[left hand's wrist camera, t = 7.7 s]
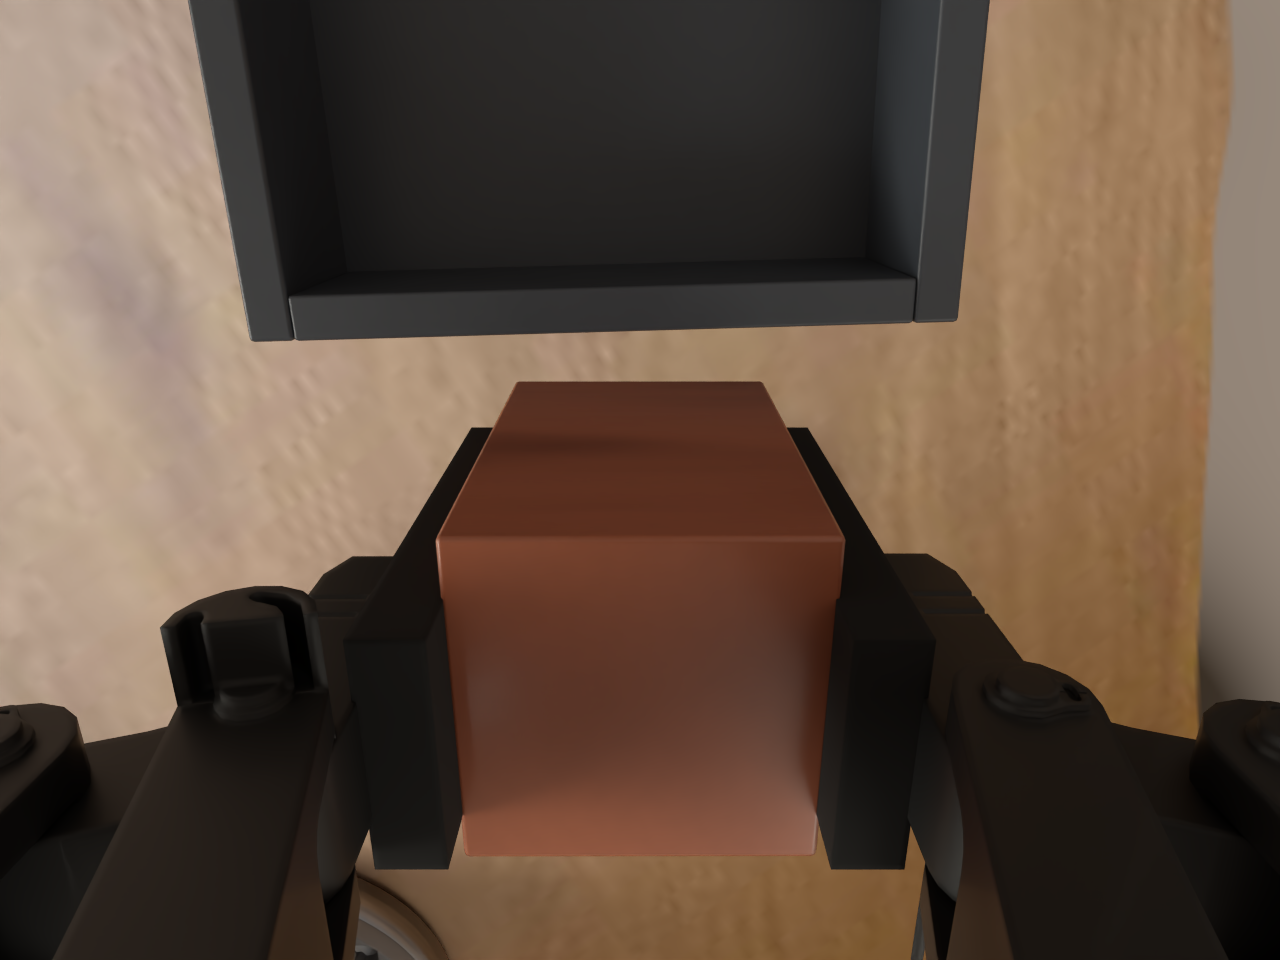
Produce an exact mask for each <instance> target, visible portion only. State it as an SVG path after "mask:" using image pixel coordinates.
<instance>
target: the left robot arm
mask: <svg viewBox="0 0 1280 960" xmlns="http://www.w3.org/2000/svg"><path fill="white" fill-rule="evenodd" d="M492 429H493V428H471V430H470V431H469V433H468V434H467V436H466V438H465V439H464V441H463V443H462V444H461V446H460V448H459V449H458V451H457V453H456V454H455V456H454V458H453V459H452V461H451V462H450V464H449V466H448V467H447V469H446V471H445V472H444V474H443V476H442V477H441V479H440V481H439V482H438V484H437V486H436V487H435V489H434V490H433V492H432V494H431V495H430V497H429V499H428V500H427V502H426V504H425V505H424V507H423V509H422V510H421V512H420V514H419V515H418V517H417V518H416V520H415V522H414V523H413V525H412V527H411V528H410V530H409V532H408V533H407V535H406V537H405V538H404V540H403V542H402V543H401V545H400V546H399V548H398V550H397V551H396V553H395V555H394V556H353V557H351V558H349V559H348V560H346V561H344V562H343V563H341V564H340V565H338V566H336V567H335V568H333V569H331V570H330V571H328V572H327V573H325V574H323V576H322V577H321V578H320V580H319V581H318V582H317V584H316V585H315V587H314V588H313V589H312V591H311V592H310V593H309V595H308V594H306V593H305V592H304V591H301V590H296V589H292V588H288V587H283V586H253V587H247V588H242V589H236V590H230V591H225V592H222V593H219V594H216V595H213V596H210V597H207V598H204V599H201V600H198V601H196V602H194V603H192V604H190V605H188V606H187V607H185V608H183V609H181V610H179V611H177V612H176V613H174V614H173V615H172V616H171V617H170V618H169V619H168V620H167V621H166V622H165V623H164V624H163V625H162V626H161V627H160V630H161V634H162V639H163V643H164V648H165V652H166V657H167V661H168V665H169V670H170V674H171V679H172V683H173V688H174V692H175V697H176V701H177V705H178V707H177V709H176V711H175V713H174V715H173V717H172V719H171V721H170V723H169V725H168V727H164V728H160V729H156V730H152V731H148V732H143V733H138V734H132V735H127V736H122V737H117V738H111V739H106V740H101V741H96V742H91V743H85V744H84V742H83V738H82V735H81V731H80V727H79V724H78V720H77V717H76V716H75V715H73V714H72V713H71V712H70V711H68V710H67V709H66V708H65V707H61V706H55V705H49V704H43V703H37V704H26V705H9V706H3V707H0V960H449V959H448V957H447V955H446V953H445V951H444V949H443V947H442V946H441V944H440V943H439V941H438V939H437V938H436V936H435V935H434V934H433V933H432V931H431V930H430V929H429V928H428V926H427V925H426V924H425V923H424V922H423V921H422V920H421V919H420V918H419V917H418V916H417V915H416V914H415V913H414V912H413V911H411V910H410V909H409V908H408V907H407V906H406V905H404V904H403V903H402V902H400V901H399V900H397V899H396V898H395V897H393V896H392V895H390V894H388V893H387V892H385V891H384V890H382V889H380V888H379V887H377V886H375V885H373V884H371V883H369V882H367V881H365V880H362V879H360V878H357V874H356V868H355V863H356V860H357V858H358V855H359V853H360V850H361V848H362V845H363V843H364V840H365V838H366V835H367V833H368V830H369V831H370V838H371V845H372V852H373V859H374V866H375V869H448V868H449V865H450V861H451V857H452V853H453V850H454V846H455V842H456V838H457V835H458V831H459V827H460V823H461V820H462V816H463V811H462V801H461V790H460V779H459V768H458V758H457V747H456V736H455V725H454V714H453V704H452V693H451V682H450V671H449V661H448V650H447V639H446V628H445V617H444V607H443V599H442V598H441V594H440V583H439V572H438V562H437V551H436V538H437V536H438V534H439V532H440V530H441V528H442V526H443V524H444V522H445V520H446V518H447V516H448V514H449V512H450V511H451V509H452V507H453V505H454V503H455V501H456V499H457V497H458V495H459V493H460V491H461V489H462V487H463V485H464V483H465V481H466V479H467V478H468V476H469V474H470V472H471V470H472V468H473V466H474V464H475V462H476V460H477V458H478V456H479V454H480V452H481V450H482V448H483V446H484V445H485V443H486V441H487V439H488V437H489V435H490V433H491V431H492ZM787 430H788V431H789V433H790V435H791V437H792V439H793V441H794V443H795V445H796V447H797V448H798V450H799V452H800V454H801V456H802V458H803V460H804V462H805V464H806V465H807V467H808V469H809V471H810V473H811V475H812V477H813V479H814V481H815V482H816V484H817V486H818V488H819V490H820V492H821V494H822V496H823V498H824V499H825V501H826V503H827V505H828V507H829V509H830V511H831V513H832V515H833V516H834V518H835V520H836V522H837V524H838V526H839V528H840V530H841V532H842V533H843V535H844V538H845V551H844V562H843V572H842V583H841V593H840V598H839V599H836V608H835V619H834V630H833V641H832V652H831V663H830V673H829V684H828V695H827V706H826V717H825V727H824V738H823V749H822V760H821V771H820V782H819V792H818V803H817V814H816V815H817V819H818V822H819V826H820V830H821V834H822V837H823V841H824V845H825V849H826V852H827V856H828V860H829V864H830V867H831V869H905V861H906V854H907V847H908V840H909V833H910V826H911V828H912V830H913V833H914V835H915V838H916V840H917V843H918V845H919V848H920V850H921V852H922V855H923V857H924V860H925V868H924V874H923V881H922V888H921V894H920V901H919V908H918V914H917V921H916V927H915V934H914V941H913V948H912V955H911V960H923V955H924V950H925V951H926V959H927V960H1280V703H1278V702H1272V701H1256V700H1244V699H1237V700H1231V701H1225V702H1219V703H1216V704H1214V705H1213V706H1212V707H1211V708H1209V709H1208V710H1207V711H1206V712H1204V713H1203V717H1202V720H1201V724H1200V728H1199V731H1198V735H1197V739H1196V740H1194V739H1189V738H1184V737H1178V736H1173V735H1168V734H1163V733H1157V732H1152V731H1147V730H1141V729H1136V728H1131V727H1127V726H1123V725H1119V724H1115V723H1111V722H1110V719H1109V717H1108V715H1107V713H1106V711H1105V709H1104V707H1103V705H1102V704H1101V703H1100V702H1099V701H1098V699H1097V698H1096V697H1095V696H1094V695H1093V693H1092V692H1091V691H1090V690H1089V689H1088V688H1087V687H1085V686H1083V685H1082V684H1080V683H1079V682H1077V681H1076V680H1074V679H1073V678H1071V677H1070V676H1068V675H1066V674H1064V673H1061V672H1059V671H1056V670H1053V669H1051V668H1048V667H1046V666H1043V665H1041V664H1036V663H1031V662H1026V661H1023V660H1022V658H1021V657H1020V656H1019V654H1018V653H1017V652H1016V650H1015V649H1014V648H1013V646H1012V645H1011V644H1010V642H1009V641H1008V640H1007V638H1006V637H1005V636H1004V634H1003V633H1002V632H1001V630H1000V629H999V628H998V626H997V625H996V624H995V622H994V621H993V620H992V618H991V617H990V616H989V615H988V614H985V609H984V608H983V607H982V605H981V604H980V603H979V601H978V600H977V599H976V597H975V596H972V592H971V591H970V589H969V588H968V587H967V585H966V584H965V583H964V581H963V580H962V579H961V577H960V576H959V575H958V573H957V572H956V571H955V570H953V569H951V568H950V567H948V566H946V565H945V564H943V563H941V562H940V561H938V560H937V559H935V558H933V557H932V556H930V555H928V554H884V553H883V551H882V549H881V548H880V546H879V545H878V543H877V541H876V540H875V538H874V536H873V535H872V533H871V531H870V530H869V528H868V526H867V525H866V523H865V521H864V520H863V518H862V517H861V515H860V513H859V512H858V510H857V508H856V507H855V505H854V503H853V502H852V500H851V498H850V497H849V495H848V493H847V492H846V490H845V489H844V487H843V485H842V484H841V482H840V480H839V479H838V477H837V475H836V474H835V472H834V470H833V469H832V467H831V465H830V464H829V462H828V461H827V459H826V457H825V456H824V454H823V452H822V451H821V449H820V447H819V446H818V444H817V442H816V441H815V439H814V438H813V436H812V434H811V433H810V431H809V429H808V428H787Z"/></svg>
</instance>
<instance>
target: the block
mask: <svg viewBox="0 0 1280 960" xmlns="http://www.w3.org/2000/svg"><path fill="white" fill-rule="evenodd" d="M436 551H437V562H438V572H439V583H440V594H441V598H442V599H443V607H444V617H445V628H446V639H447V650H448V661H449V671H450V682H451V693H452V704H453V714H454V725H455V736H456V747H457V758H458V768H459V779H460V790H461V801H462V811H463V816H462V830H463V840H464V850H465V853H466V855H468V856H811V855H814V854H815V852H816V848H817V837H818V826H819V822H818V819H817V815H816V814H817V803H818V792H819V782H820V771H821V760H822V749H823V738H824V727H825V717H826V706H827V695H828V684H829V673H830V663H831V652H832V641H833V630H834V619H835V608H836V599H839V598H840V593H841V583H842V572H843V562H844V551H845V538H844V535H843V533H842V532H841V530H840V528H839V526H838V524H837V522H836V520H835V518H834V516H833V515H832V513H831V511H830V509H829V507H828V505H827V503H826V501H825V499H824V498H823V496H822V494H821V492H820V490H819V488H818V486H817V484H816V482H815V481H814V479H813V477H812V475H811V473H810V471H809V469H808V467H807V465H806V464H805V462H804V460H803V458H802V456H801V454H800V452H799V450H798V448H797V447H796V445H795V443H794V441H793V439H792V437H791V435H790V433H789V431H788V430H787V428H786V426H785V424H784V422H783V420H782V418H781V416H780V414H779V413H778V411H777V409H776V407H775V405H774V403H773V401H772V399H771V397H770V396H769V394H768V392H767V390H766V388H765V386H764V384H763V383H762V382H517V383H516V384H515V386H514V388H513V390H512V392H511V394H510V396H509V398H508V400H507V402H506V404H505V406H504V408H503V410H502V412H501V414H500V415H499V417H498V419H497V421H496V423H495V425H494V427H493V429H492V431H491V433H490V435H489V437H488V439H487V441H486V443H485V445H484V446H483V448H482V450H481V452H480V454H479V456H478V458H477V460H476V462H475V464H474V466H473V468H472V470H471V472H470V474H469V476H468V478H467V479H466V481H465V483H464V485H463V487H462V489H461V491H460V493H459V495H458V497H457V499H456V501H455V503H454V505H453V507H452V509H451V511H450V512H449V514H448V516H447V518H446V520H445V522H444V524H443V526H442V528H441V530H440V532H439V534H438V536H437V538H436Z"/></svg>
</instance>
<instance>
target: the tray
mask: <svg viewBox="0 0 1280 960" xmlns="http://www.w3.org/2000/svg"><path fill="white" fill-rule="evenodd" d="M989 2H990V0H188V3H189V9H190V14H191V20H192V25H193V31H194V36H195V42H196V47H197V52H198V58H199V63H200V69H201V74H202V80H203V85H204V91H205V96H206V102H207V107H208V112H209V118H210V123H211V129H212V134H213V140H214V145H215V151H216V156H217V162H218V167H219V172H220V178H221V183H222V189H223V194H224V200H225V205H226V211H227V216H228V222H229V227H230V232H231V238H232V243H233V249H234V254H235V260H236V265H237V271H238V276H239V282H240V287H241V292H242V298H243V303H244V309H245V314H246V320H247V325H248V331H249V336H250V339H251V341H254V342H264V341H292V340H294V339H296V340H299V341H304V340H339V339H374V338H408V337H443V336H477V335H512V334H547V333H581V332H616V331H650V330H685V329H719V328H754V327H789V326H823V325H858V324H892V323H910V322H912V321H914V322H916V323H924V322H954V321H956V320H957V318H958V309H959V299H960V289H961V279H962V269H963V259H964V250H965V240H966V230H967V220H968V210H969V200H970V190H971V180H972V170H973V160H974V150H975V140H976V131H977V121H978V111H979V101H980V91H981V81H982V71H983V61H984V51H985V41H986V31H987V21H988V12H989Z"/></svg>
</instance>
